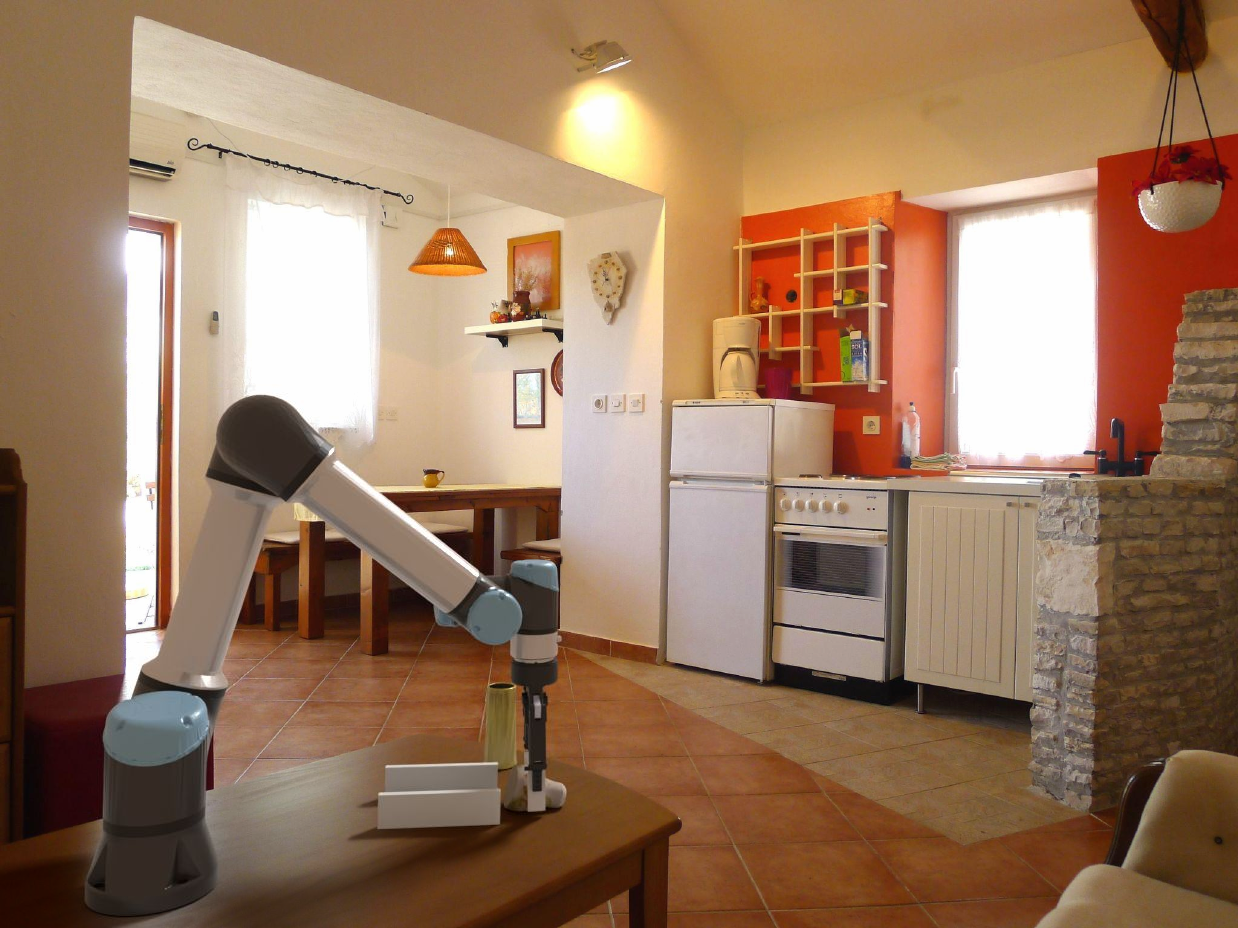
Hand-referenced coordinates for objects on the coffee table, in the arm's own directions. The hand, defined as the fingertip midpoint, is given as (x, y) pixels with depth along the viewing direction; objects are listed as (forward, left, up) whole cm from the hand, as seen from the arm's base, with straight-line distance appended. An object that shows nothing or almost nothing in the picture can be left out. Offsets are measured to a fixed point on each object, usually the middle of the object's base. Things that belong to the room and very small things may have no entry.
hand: (534, 799), depth 148 cm
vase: (-5, +21, -1) cm, 21 cm away
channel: (-15, 0, -1) cm, 15 cm away
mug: (0, 0, -2) cm, 2 cm away
